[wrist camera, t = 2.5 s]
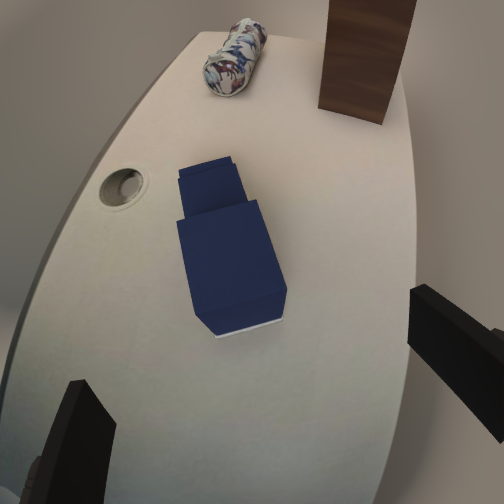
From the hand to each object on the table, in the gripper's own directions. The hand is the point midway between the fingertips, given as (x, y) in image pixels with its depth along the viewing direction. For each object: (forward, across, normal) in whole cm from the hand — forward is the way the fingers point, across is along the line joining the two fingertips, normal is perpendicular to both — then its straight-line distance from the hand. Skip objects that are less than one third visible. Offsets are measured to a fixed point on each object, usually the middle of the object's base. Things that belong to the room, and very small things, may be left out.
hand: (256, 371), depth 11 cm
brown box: (+50, +34, +16) cm, 63 cm away
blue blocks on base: (+29, 0, -5) cm, 30 cm away
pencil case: (+58, +12, +24) cm, 63 cm away
